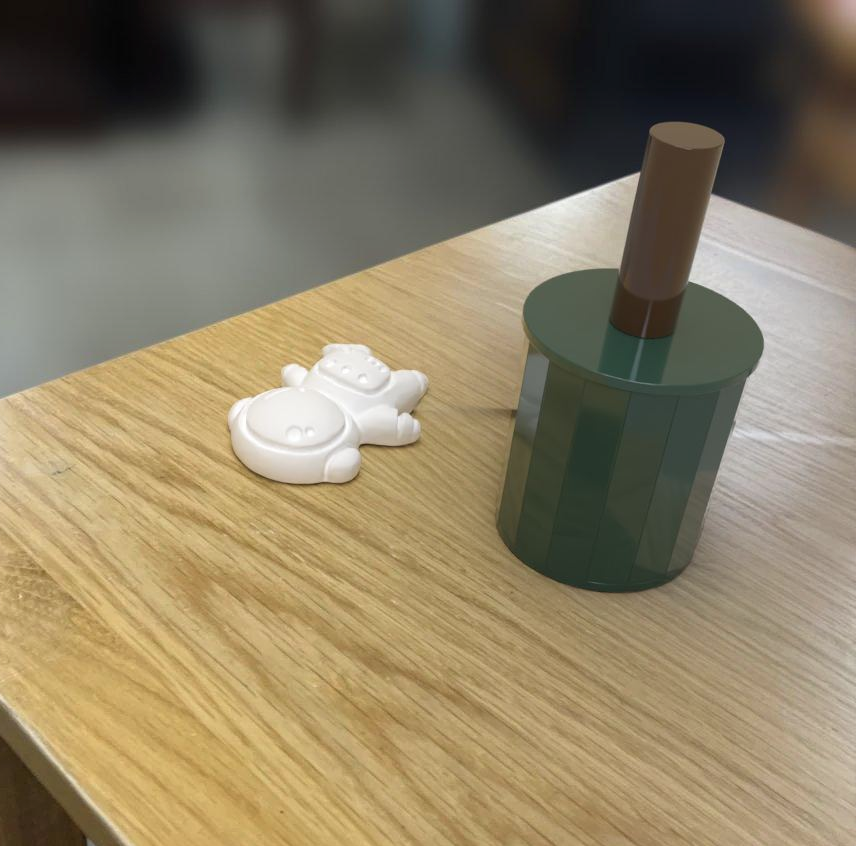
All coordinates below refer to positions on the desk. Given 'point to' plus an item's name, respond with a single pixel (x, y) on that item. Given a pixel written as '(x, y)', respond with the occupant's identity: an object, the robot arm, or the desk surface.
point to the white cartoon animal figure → (326, 417)
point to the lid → (652, 289)
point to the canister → (608, 477)
